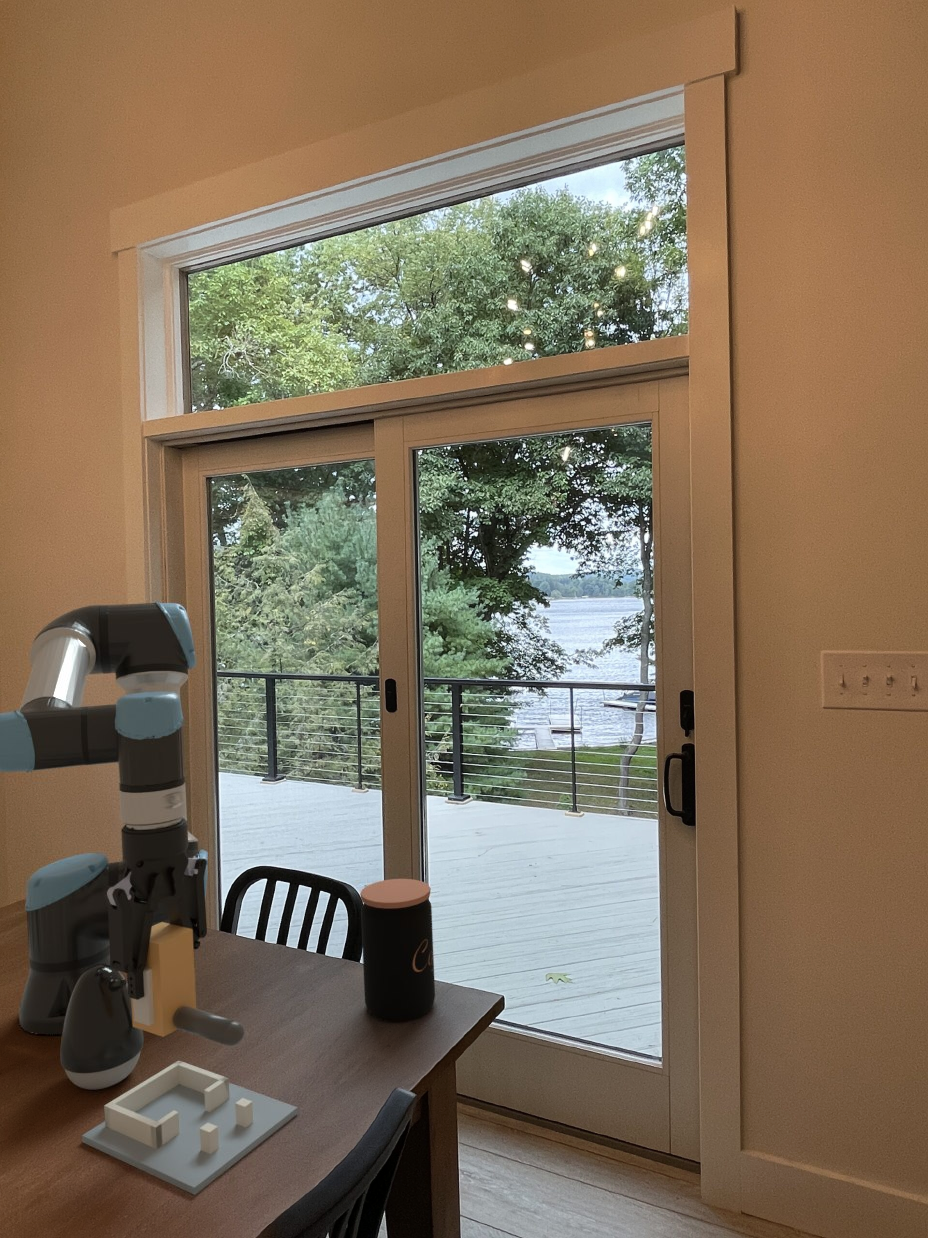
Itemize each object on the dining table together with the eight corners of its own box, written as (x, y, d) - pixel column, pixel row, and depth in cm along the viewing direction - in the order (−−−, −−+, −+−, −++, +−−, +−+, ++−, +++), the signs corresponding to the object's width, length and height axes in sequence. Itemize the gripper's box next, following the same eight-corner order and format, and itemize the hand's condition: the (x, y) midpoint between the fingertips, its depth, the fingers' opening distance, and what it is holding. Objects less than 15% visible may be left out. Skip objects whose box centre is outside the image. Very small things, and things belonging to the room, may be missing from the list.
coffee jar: (425, 1027, 125) (420, 904, 124) (355, 1022, 127) (350, 901, 126) (442, 992, 135) (437, 879, 135) (377, 989, 137) (372, 877, 137)
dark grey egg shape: (94, 1110, 107) (88, 989, 107) (45, 1087, 113) (39, 973, 112) (162, 1070, 116) (156, 958, 115) (113, 1051, 121) (108, 944, 121)
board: (82, 1142, 101) (80, 1114, 101) (189, 1074, 114) (188, 1050, 114) (194, 1195, 91) (193, 1164, 91) (297, 1114, 105) (296, 1087, 105)
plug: (132, 1026, 104) (128, 936, 103) (166, 1008, 108) (162, 922, 108) (224, 1058, 96) (219, 960, 95) (257, 1037, 100) (252, 943, 100)
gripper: (109, 844, 94) (120, 1054, 95) (232, 806, 110) (241, 987, 110) (67, 837, 98) (77, 1039, 99) (191, 801, 113) (200, 976, 114)
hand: (163, 1011), depth 104 cm, fingers closed on plug, 5 cm apart
